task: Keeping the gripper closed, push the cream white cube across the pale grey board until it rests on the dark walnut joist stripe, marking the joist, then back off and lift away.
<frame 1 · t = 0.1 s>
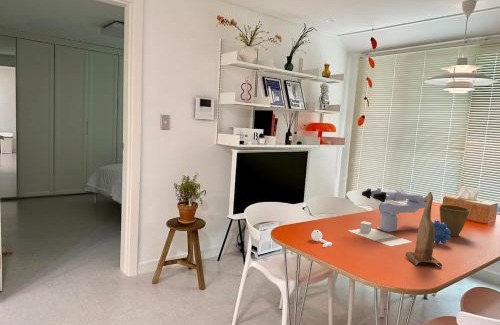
hand: (368, 194, 193), 22 cm above the table, fingers open, 7 cm apart
figurine: (319, 243, 174), on the table
grapes: (437, 243, 184), on the table
cream white cube: (365, 231, 199), resting on subfloor board
subfloor board: (378, 236, 191), on the table
bird sculpture: (422, 262, 155), on the table
plant pot: (451, 235, 203), on the table
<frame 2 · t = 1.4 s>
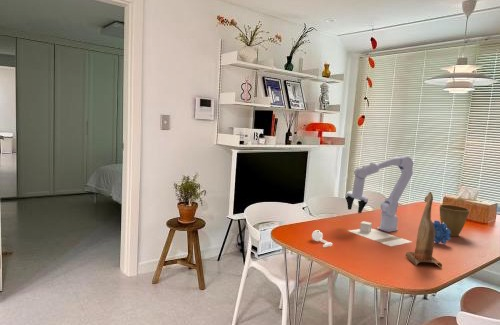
hand: (354, 211, 205), 10 cm above the table, fingers open, 7 cm apart
nothing on the table moved.
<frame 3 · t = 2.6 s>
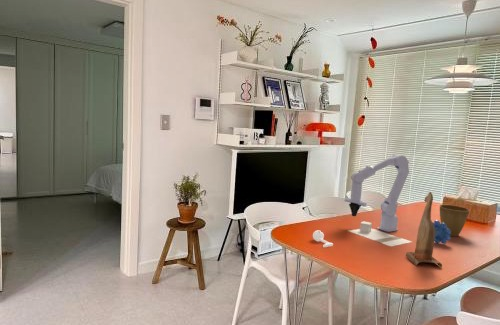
hand: (353, 216, 206), 7 cm above the table, fingers closed
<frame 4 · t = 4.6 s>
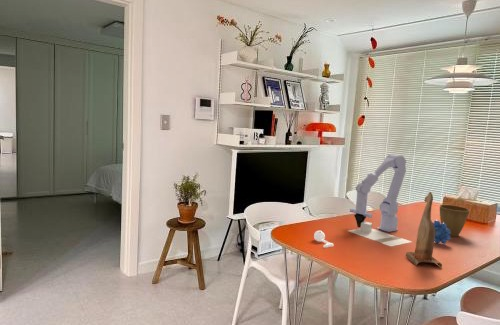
hand: (359, 227, 202), 1 cm above the table, fingers closed
cream white cube: (365, 231, 198), resting on subfloor board, touching gripper
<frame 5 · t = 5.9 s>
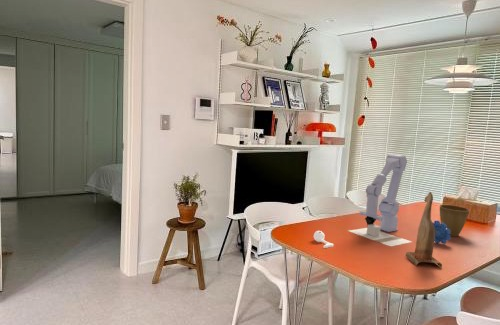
hand: (369, 230, 196), 2 cm above the table, fingers closed, pressing on cream white cube
cream white cube: (372, 234, 193), resting on subfloor board, touching gripper
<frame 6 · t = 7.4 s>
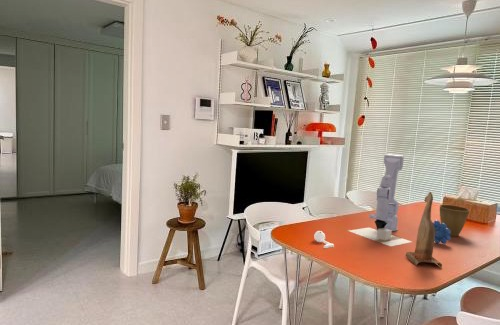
hand: (379, 233, 191), 1 cm above the table, fingers closed
cream white cube: (383, 239, 187), resting on subfloor board, touching gripper
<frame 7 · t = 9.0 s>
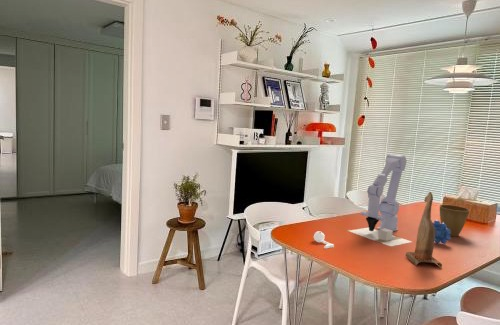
hand: (371, 230, 195), 2 cm above the table, fingers closed
cream white cube: (384, 239, 186), resting on subfloor board
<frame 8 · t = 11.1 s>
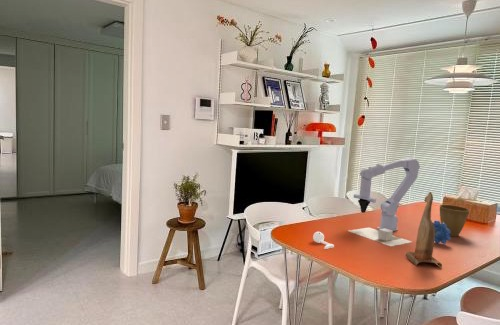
hand: (363, 212, 205), 9 cm above the table, fingers closed
at the end: cream white cube inside the target area (2.0 cm from its centre), resting on subfloor board; cream white cube tilted 0°; cream white cube moved 14.1 cm from its start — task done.
